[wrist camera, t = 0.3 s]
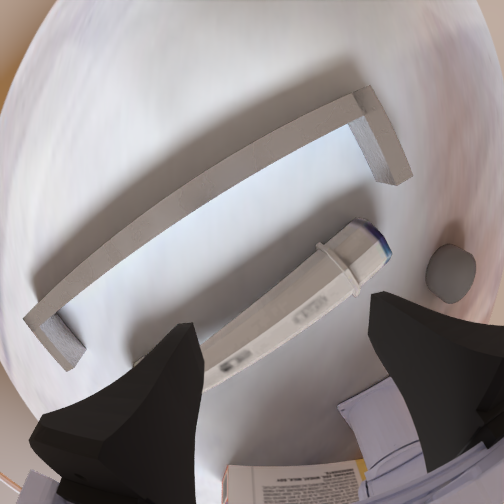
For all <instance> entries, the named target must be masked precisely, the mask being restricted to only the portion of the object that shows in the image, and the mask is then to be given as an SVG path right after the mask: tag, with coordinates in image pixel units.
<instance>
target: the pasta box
mask: <svg viewBox="0 0 504 504" xmlns="http://www.w3.org/2000/svg"><path fill="white" fill-rule="evenodd" d="M367 471H368V470H367V467H366V464H365V461H364V458H363V459H357V460H350V461H344V462H336V463H327V464H317V465H303V466H241V465H228V466H227V469H226V472H225V475H224V478H223V481H222V504H350V503H353V502H357V501H359V497H358V489H359V487H360V484H361V482H362V481H364V480H366V477H365V474H364V473H365V472H367Z"/></svg>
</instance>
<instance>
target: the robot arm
mask: <svg viewBox="0 0 504 504" xmlns="http://www.w3.org/2000/svg"><path fill="white" fill-rule="evenodd" d="M368 336H369V338H370V341H371V343H372V345H373V348H374V350H375V352H376V354H377V355H378V357H379V359H380V360H381V362H382V363H383V365H384V367H385V368H386V370H387V371H388V373H389V375H390V377H388V378H387V379H385V380H383V381H382V382H380V383H378V384H377V385H375V386H373V387H371V388H369V389H368V390H366V391H364V392H362V393H360V394H358V395H357V396H355V397H353V398H351V399H349V400H347V401H345V402H343V403H341V404H339V405H338V406H337V409H338V411H339V412H340V414H341V415H342V416H343V418H344V419H345V421H346V422H347V423H348V425H349V426H350V427H351V429H352V430H353V432H354V434H355V437H356V439H357V442H358V445H359V447H360V450H361V453H362V456H363V458H364V461H365V464H366V467H367V470H368V471H367V472H365V473H364V474H365V477H366V480H364V481H362V482H361V484H360V487H359V489H358V497H359V501H357V502H353V503H350V504H503V503H504V326H496V325H487V324H480V323H474V322H469V321H465V320H461V319H457V318H453V317H450V316H447V315H444V314H441V313H438V312H435V311H433V310H430V309H427V308H425V307H422V306H420V305H418V304H415V303H413V302H410V301H408V300H406V299H403V298H401V297H399V296H396V295H394V294H391V293H388V292H385V291H383V292H378V293H374V294H371V302H370V316H369V328H368ZM204 368H205V361H204V358H203V355H202V352H201V348H200V345H199V342H198V339H197V335H196V332H195V329H194V325H193V323H183V324H178V325H177V326H175V327H174V328H173V329H172V330H171V331H170V332H169V333H168V334H167V336H166V337H165V338H164V339H163V340H162V341H161V342H160V343H159V344H158V345H157V346H156V347H155V348H154V349H153V350H152V351H151V352H150V353H149V354H148V355H147V356H145V357H144V358H143V359H142V360H141V361H140V362H139V363H138V364H137V365H136V366H134V367H133V368H132V369H131V370H130V371H128V372H127V373H126V374H125V375H123V376H122V377H120V378H119V379H118V380H116V381H115V382H113V383H112V384H110V385H109V386H107V387H105V388H104V389H102V390H100V391H99V392H97V393H95V394H94V395H92V396H90V397H88V398H86V399H84V400H82V401H79V402H77V403H75V404H73V405H70V406H67V407H65V408H62V409H59V410H56V411H53V412H50V413H46V414H43V415H42V417H41V418H40V420H39V422H38V424H37V426H36V427H35V429H34V431H33V433H32V435H31V437H30V439H29V443H30V446H31V448H32V449H33V450H34V452H35V453H36V454H37V455H38V456H39V457H40V458H41V459H42V460H43V461H44V462H45V463H46V464H47V465H49V467H51V468H52V469H53V470H54V471H55V472H56V473H58V474H59V475H60V476H61V477H62V478H61V481H60V483H59V482H57V481H55V480H54V479H52V478H50V477H47V476H45V475H43V474H41V473H39V472H37V471H34V470H30V472H29V474H28V476H27V478H26V481H25V483H24V485H23V487H22V490H21V492H20V495H19V497H18V500H17V502H16V504H196V497H195V476H194V453H195V432H196V425H197V419H198V413H199V408H200V402H201V396H202V391H203V385H204Z"/></svg>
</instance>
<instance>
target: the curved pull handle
mask: <svg viewBox="0 0 504 504" xmlns="http://www.w3.org/2000/svg"><path fill="white" fill-rule="evenodd" d="M347 123H348V125H349V127H350V129H351V130H352V132H353V134H354V136H355V138H356V140H357V142H358V144H359V146H360V148H361V150H362V152H363V154H364V156H365V158H366V160H367V162H368V164H369V167H370V169H371V171H372V173H373V175H374V178H375V180H376V182H380V183H385V184H390V185H394V186H398V185H399V184H401V183H402V182H404V181H406V180H407V179H409V178H411V177H412V176H413V174H412V171H411V168H410V166H409V163H408V161H407V158H406V156H405V154H404V151H403V149H402V147H401V144H400V142H399V140H398V138H397V135H396V133H395V131H394V129H393V127H392V125H391V123H390V121H389V119H388V117H387V115H386V113H385V111H384V109H383V107H382V105H381V103H380V101H379V100H378V98H377V96H376V94H375V92H374V91H373V89H372V87H371V85H369V86H367V87H364V88H362V89H360V90H357V91H355V92H353V93H350V94H348V95H346V96H343V97H341V98H339V99H337V100H335V101H332V102H330V103H328V104H326V105H324V106H322V107H320V108H317V109H315V110H313V111H311V112H309V113H307V114H305V115H303V116H301V117H299V118H297V119H295V120H293V121H291V122H289V123H287V124H286V125H284V126H282V127H280V128H278V129H276V130H274V131H272V132H271V133H269V134H267V135H265V136H263V137H261V138H260V139H258V140H256V141H254V142H253V143H251V144H249V145H247V146H246V147H244V148H242V149H241V150H239V151H237V152H235V153H234V154H232V155H230V156H229V157H227V158H225V159H224V160H222V161H221V162H219V163H217V164H216V165H214V166H212V167H211V168H209V169H208V170H206V171H205V172H203V173H201V174H200V175H198V176H197V177H195V178H194V179H192V180H191V181H189V182H188V183H186V184H185V185H183V186H182V187H180V188H179V189H177V190H176V191H174V192H173V193H171V194H170V195H169V196H167V197H166V198H164V199H163V200H161V201H160V202H159V203H157V204H156V205H154V206H153V207H152V208H150V209H149V210H147V211H146V212H145V213H143V214H142V215H141V216H139V217H138V218H137V219H135V220H134V221H133V222H131V223H130V224H129V225H127V226H126V227H125V228H124V229H122V230H121V231H120V232H118V233H117V234H116V235H115V236H113V237H112V238H111V239H110V240H108V241H107V242H106V243H105V244H103V245H102V246H101V247H100V248H99V249H97V250H96V251H95V252H94V253H93V254H91V255H90V256H89V257H88V258H87V259H85V260H84V261H83V262H82V263H81V264H80V265H78V266H77V267H76V268H75V269H74V270H73V271H72V272H71V273H69V274H68V275H67V276H66V277H65V278H64V279H63V280H62V281H61V282H60V283H58V284H57V285H56V286H55V287H54V288H53V289H52V290H51V291H50V292H49V293H48V294H47V295H46V296H45V297H44V298H43V299H42V300H41V301H40V302H39V303H38V304H37V305H36V306H35V307H34V308H33V309H32V310H31V311H30V312H29V313H28V314H27V315H26V316H25V317H24V318H23V320H24V321H25V323H26V324H27V325H28V327H29V328H30V329H31V331H32V332H33V333H34V334H35V336H36V337H37V338H38V340H39V341H40V342H41V343H42V344H43V346H44V347H45V348H46V349H47V350H48V352H49V353H50V354H51V355H52V356H53V357H54V359H55V360H56V361H57V362H58V363H59V364H60V365H61V366H62V367H63V369H64V370H65V371H66V372H67V371H69V370H71V369H73V368H75V366H76V364H77V363H78V361H79V360H80V358H81V357H82V355H83V354H84V352H85V351H86V348H85V347H84V346H83V345H82V344H81V343H80V341H79V340H78V339H77V338H76V337H75V336H74V334H73V333H72V332H71V331H70V330H69V328H68V327H67V326H66V325H65V323H64V322H63V321H62V320H61V318H60V317H59V316H58V314H57V313H56V312H57V311H58V310H59V309H60V308H62V307H63V306H64V305H65V304H66V303H68V302H69V301H70V300H71V299H73V298H74V297H75V296H76V295H78V294H79V293H80V292H81V291H83V290H84V289H85V288H86V287H88V286H89V285H90V284H92V283H93V282H94V281H95V280H97V279H98V278H99V277H101V276H102V275H103V274H105V273H106V272H107V271H109V270H110V269H111V268H113V267H114V266H115V265H117V264H118V263H119V262H121V261H122V260H123V259H125V258H126V257H127V256H129V255H130V254H132V253H133V252H134V251H136V250H137V249H139V248H140V247H141V246H143V245H144V244H146V243H147V242H148V241H150V240H151V239H153V238H154V237H156V236H157V235H159V234H160V233H161V232H163V231H164V230H166V229H167V228H169V227H170V226H172V225H173V224H175V223H176V222H178V221H179V220H181V219H182V218H184V217H185V216H187V215H188V214H190V213H191V212H193V211H195V210H196V209H198V208H199V207H201V206H202V205H204V204H205V203H207V202H209V201H210V200H212V199H213V198H215V197H217V196H218V195H220V194H221V193H223V192H225V191H226V190H228V189H230V188H231V187H233V186H234V185H236V184H238V183H239V182H241V181H243V180H244V179H246V178H248V177H249V176H251V175H253V174H255V173H256V172H258V171H260V170H261V169H263V168H265V167H267V166H268V165H270V164H272V163H274V162H275V161H277V160H279V159H281V158H283V157H284V156H286V155H288V154H290V153H292V152H293V151H295V150H297V149H299V148H301V147H303V146H305V145H306V144H308V143H310V142H312V141H314V140H316V139H318V138H320V137H322V136H324V135H326V134H327V133H329V132H331V131H333V130H335V129H337V128H339V127H341V126H343V125H345V124H347Z"/></svg>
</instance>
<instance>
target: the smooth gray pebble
mask: <svg viewBox="0 0 504 504" xmlns="http://www.w3.org/2000/svg"><path fill="white" fill-rule="evenodd" d="M475 273H476V262H475V259H474V257H473V256H472V254H470V253H468V252H467V251H465V250H463V249H461V248H459V247H457V246H455V245H453V244H446V245H444V246H442V247H440V248H439V249H438V250H437V251H436V252H435V253H434V255H433V256H432V258H431V259H430V261H429V264H428V267H427V270H426V284H427V286H428V288H429V290H431V291H432V292H433V293H434V294H435V295H437V296H438V297H439V298H440V299H442V300H443V301H444V302H445V303H448V304H453V303H456V302H458V301H459V300H460V299H462V298H463V297H464V296H465V295H466V293H467V292H468V291H469V289H470V287H471V285H472V283H473V281H474V278H475Z"/></svg>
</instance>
